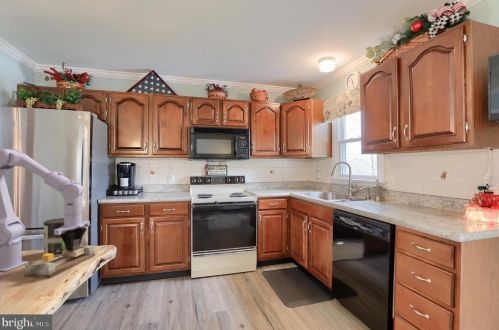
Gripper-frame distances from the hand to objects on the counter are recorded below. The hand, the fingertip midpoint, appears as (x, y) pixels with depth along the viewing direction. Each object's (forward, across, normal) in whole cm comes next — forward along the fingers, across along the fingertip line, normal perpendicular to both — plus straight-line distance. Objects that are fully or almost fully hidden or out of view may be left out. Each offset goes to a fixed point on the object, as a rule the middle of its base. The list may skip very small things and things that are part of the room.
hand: (73, 247), depth 97 cm
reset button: (-1, -13, -3) cm, 14 cm away
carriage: (+3, 0, 0) cm, 3 cm away
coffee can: (+5, +6, +13) cm, 15 cm away
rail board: (+5, -4, 0) cm, 7 cm away
